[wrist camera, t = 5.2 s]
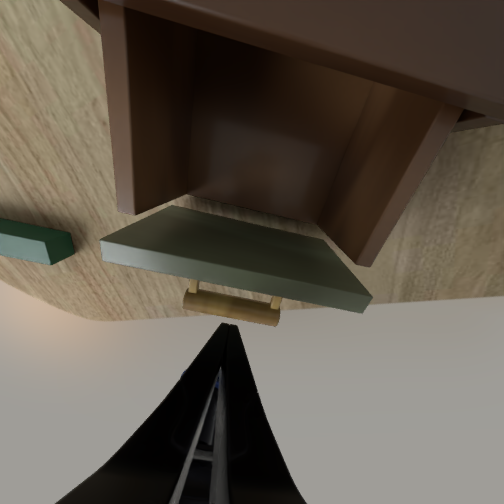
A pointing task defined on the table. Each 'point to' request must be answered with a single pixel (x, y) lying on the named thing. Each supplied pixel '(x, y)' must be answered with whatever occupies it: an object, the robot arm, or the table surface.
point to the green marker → (34, 242)
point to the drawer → (255, 163)
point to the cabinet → (365, 41)
